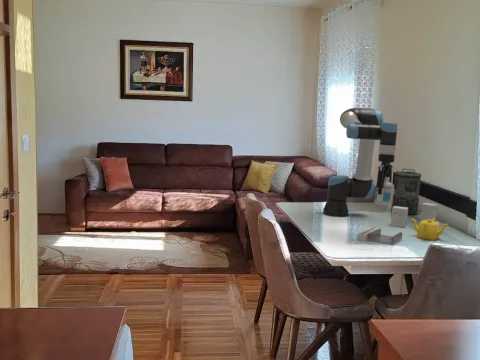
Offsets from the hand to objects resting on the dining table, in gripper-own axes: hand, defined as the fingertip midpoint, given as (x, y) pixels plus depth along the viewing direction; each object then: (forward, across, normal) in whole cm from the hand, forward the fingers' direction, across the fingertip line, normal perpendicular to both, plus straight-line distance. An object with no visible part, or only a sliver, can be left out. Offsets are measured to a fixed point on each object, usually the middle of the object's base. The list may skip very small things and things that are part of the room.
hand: (382, 200), depth 265 cm
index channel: (+20, +1, -3) cm, 20 cm away
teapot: (+20, +23, -18) cm, 35 cm away
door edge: (+20, +1, +6) cm, 21 cm away
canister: (+19, +83, +13) cm, 86 cm away
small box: (+20, +40, +3) cm, 45 cm away
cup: (+20, +56, -9) cm, 60 cm away
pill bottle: (+2, 0, 0) cm, 2 cm away
